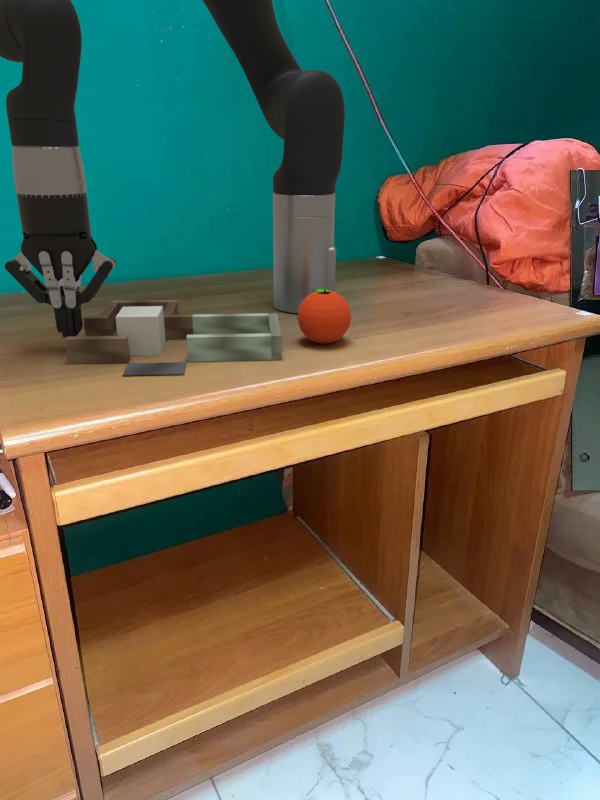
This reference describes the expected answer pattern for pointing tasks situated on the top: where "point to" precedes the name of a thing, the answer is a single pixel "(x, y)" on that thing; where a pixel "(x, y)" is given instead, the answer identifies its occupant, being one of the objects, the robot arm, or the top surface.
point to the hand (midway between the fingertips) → (70, 335)
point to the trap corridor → (203, 333)
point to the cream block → (142, 329)
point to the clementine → (324, 316)
